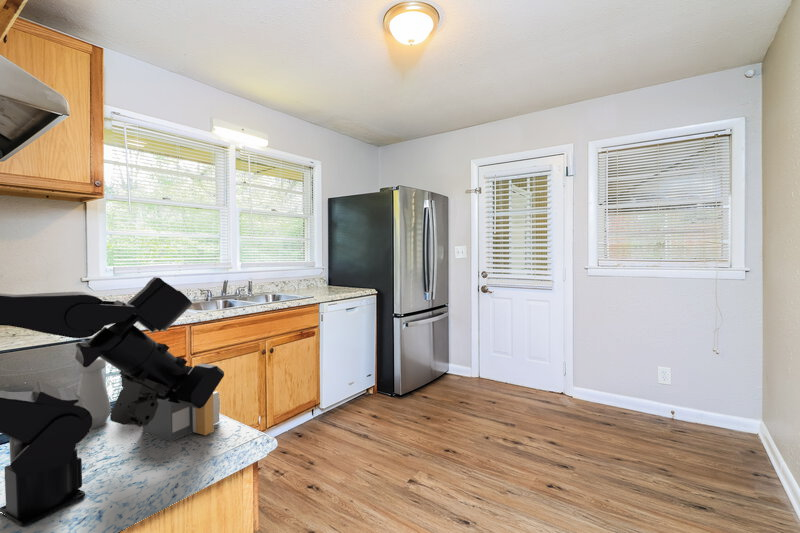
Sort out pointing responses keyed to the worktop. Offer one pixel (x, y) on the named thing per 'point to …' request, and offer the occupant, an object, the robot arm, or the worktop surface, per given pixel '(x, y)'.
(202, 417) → the wooden upright post
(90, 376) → the salt shaker
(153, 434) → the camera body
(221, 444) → the worktop surface
